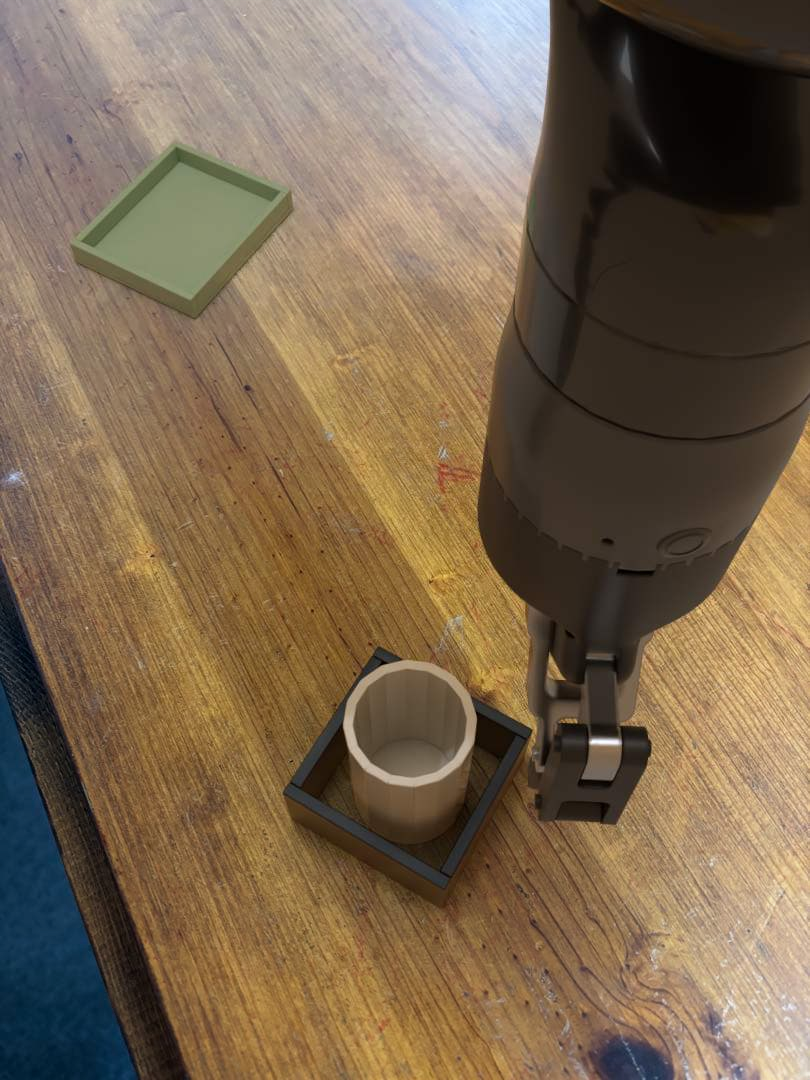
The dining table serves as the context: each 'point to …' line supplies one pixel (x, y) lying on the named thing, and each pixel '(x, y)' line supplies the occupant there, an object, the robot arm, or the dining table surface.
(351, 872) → the dining table surface
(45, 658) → the dining table surface
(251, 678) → the dining table surface
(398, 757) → the cup
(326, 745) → the open square frame
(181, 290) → the tray
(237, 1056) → the dining table surface
